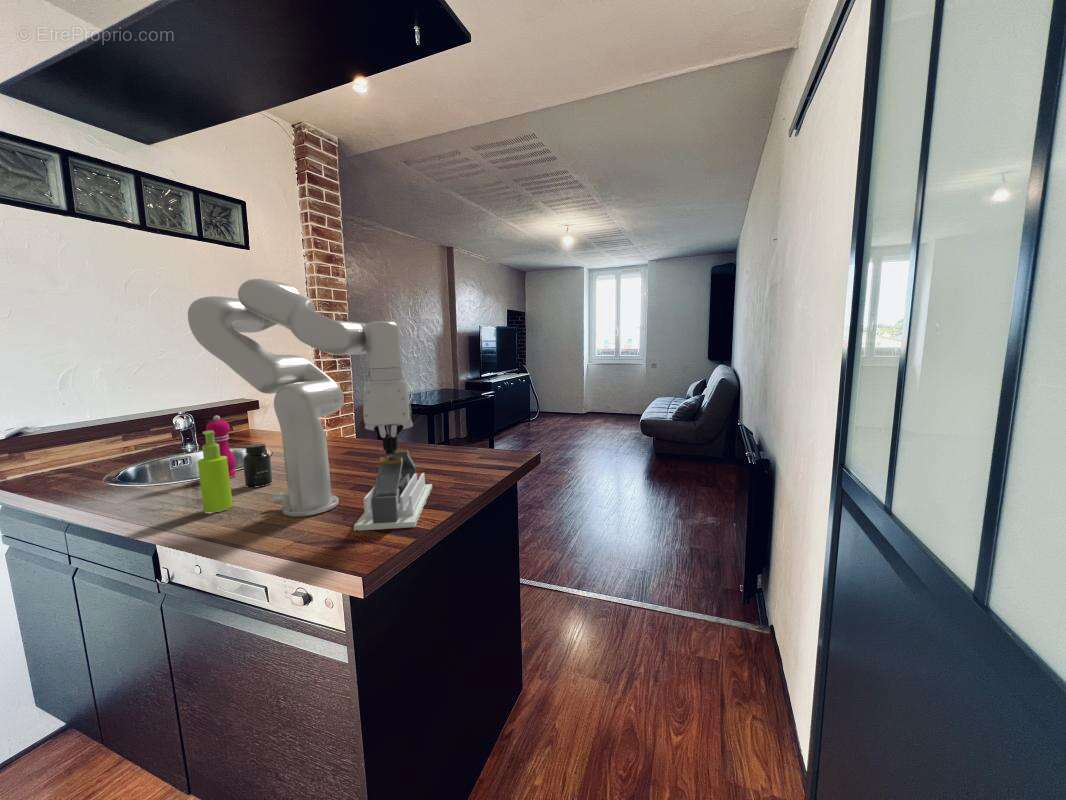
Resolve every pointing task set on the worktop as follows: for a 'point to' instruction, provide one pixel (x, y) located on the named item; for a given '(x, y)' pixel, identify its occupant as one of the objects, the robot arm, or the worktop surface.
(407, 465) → the grey green rectangular plate
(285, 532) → the worktop surface
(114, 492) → the worktop surface
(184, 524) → the worktop surface
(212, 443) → the soap dispenser
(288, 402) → the robot arm
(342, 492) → the worktop surface
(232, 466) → the pepper mill
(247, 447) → the supplement bottle
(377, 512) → the heatsink board
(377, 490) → the grey flat block
